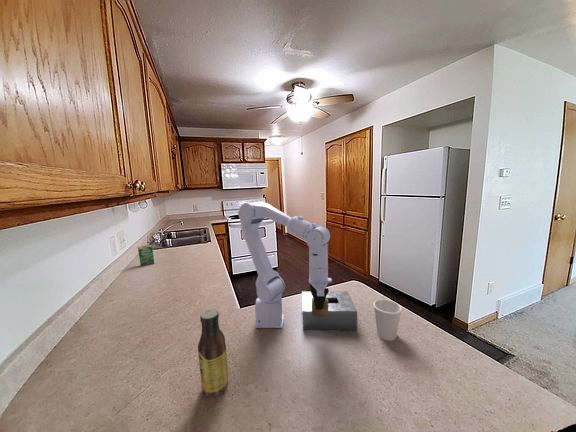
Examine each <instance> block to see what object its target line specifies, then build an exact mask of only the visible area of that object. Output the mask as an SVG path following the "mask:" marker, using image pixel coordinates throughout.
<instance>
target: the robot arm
mask: <svg viewBox="0 0 576 432" xmlns="http://www.w3.org/2000/svg"><path fill="white" fill-rule="evenodd" d="M237 216H238V218H239V221H240V229H241V232H242V236H243V238H244V241H245V243H246V246H247V248H248V252H249V254H250V257H251V259H252V262H253V265H254V267H255V270H256V272H257V273H256V274H257V275H258V276H257V278H256V281H255V283H254V284H255V288H256V295H257V298H256V299H255V303H254V304H255V306H254V310H255V311H254V313H255V328H256V329H283V327H284V320H285V314H284V313H283V304H282V303H283V301H282V296H283V292H284V291H285V289H286V284H285V281H284V280H283V278H282V277H281V276H280V274H279V272H278V271H276V270H274V269H273V267H272V264H271V262H270V259H269V256H268V253H267V251H266V248H265V245H264V243H263V239H262V238H261V234H260V232H259V227H260V225H261V224H262V222H264V220H265V219H269V220H271V221H274V222H275V223H278V224H280V225H283V226H284V227H286V228H287V232H289V233H291V234H292V235H293V236H295V237H298V238H300V239H301V240H303V241H305V243H306V244H307V246H308V263H309V265H308V266H309V267H308V271H309V272H308V275H309V278H308V283H309V292H311V294H312V296H313V298H314V303H315V308H316V310H323V306H324V301H325V298H326V296H327V294H328V292H329V291H330V290H329V288H327V286H328V284H329V283H332V282H333V281H332V280H333V279H332V278H331V277H329V260H328V259H329V255H328V254H329V249H328V248H329V247H328V246H329V245H328V242H329V241H330V240H331V233H330V230H329V229H328V228H327V227H325V226H324V225H317V223H315V222H309V221H308V220H306V219H304V217H303V216H302V215H299V216H298V215H295V216H293V217H291V216H289V214H286V213H285V212H282V211H281V210H279V209H277V208H276V207H274V206H273V205H271V204H270V203H267V202H266V201H262V200H259V201H255V202H244V203H242V204H241V205H240V206H239V209H238V212H237Z"/></svg>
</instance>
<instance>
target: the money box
mask: <svg viewBox="0 0 576 432" xmlns="http://www.w3.org/2000/svg"><path fill="white" fill-rule="evenodd" d="M312 298H313V296H312V294H311V292H310V291H301V308H302V310H301V311H302V313H301V314H302V330H303V331H329V332H330V331H331V332H332V331H333V332H334V331H342V332H343V331H347V332H348V331H351V332H352V331H358V330H357V329H358V326H357V325H358V310H357V308H356V306H355V304H354V301H353V300H352V298H351V295H350V294H349V292H348V291H345V290H343V291H335V290H334V291H330V290H329V292H328V294H327V296H326V298H325V299H328V317H312Z"/></svg>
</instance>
